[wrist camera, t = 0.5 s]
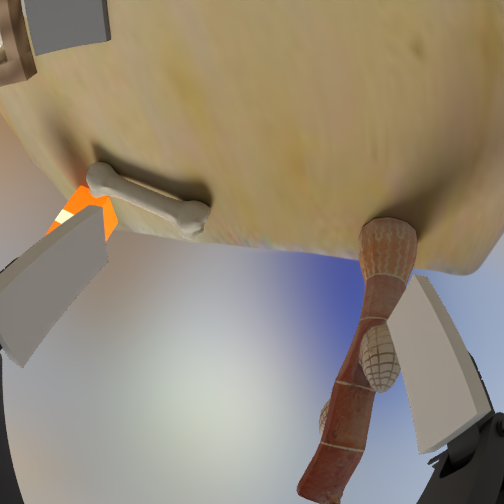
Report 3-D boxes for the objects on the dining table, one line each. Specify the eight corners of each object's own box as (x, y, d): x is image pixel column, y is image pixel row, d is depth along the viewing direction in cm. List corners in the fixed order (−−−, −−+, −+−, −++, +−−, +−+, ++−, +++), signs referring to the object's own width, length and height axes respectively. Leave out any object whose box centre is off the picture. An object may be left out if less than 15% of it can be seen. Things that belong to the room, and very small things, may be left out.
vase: (395, 204, 25) (326, 525, 11) (432, 238, 27) (384, 513, 13) (334, 242, 34) (263, 482, 20) (372, 266, 36) (317, 485, 21)
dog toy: (102, 177, 39) (85, 200, 37) (96, 152, 34) (76, 176, 31) (210, 222, 41) (196, 250, 38) (216, 199, 35) (200, 229, 33)
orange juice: (91, 210, 51) (43, 290, 41) (80, 184, 43) (22, 273, 34) (119, 222, 51) (71, 308, 42) (109, 196, 43) (50, 293, 34)
